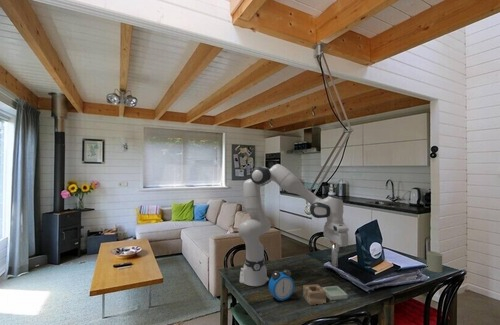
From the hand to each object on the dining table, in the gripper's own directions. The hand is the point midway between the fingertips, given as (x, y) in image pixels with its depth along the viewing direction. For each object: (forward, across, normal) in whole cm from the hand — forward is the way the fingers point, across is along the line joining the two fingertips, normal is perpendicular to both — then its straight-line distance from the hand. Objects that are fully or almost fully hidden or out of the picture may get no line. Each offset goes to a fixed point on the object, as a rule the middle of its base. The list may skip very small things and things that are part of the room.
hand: (334, 249), depth 141 cm
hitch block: (+26, +2, -14) cm, 29 cm away
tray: (+26, 0, 0) cm, 26 cm away
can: (+26, -18, +88) cm, 94 cm away
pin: (+9, 0, 0) cm, 9 cm away
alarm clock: (+26, -2, -30) cm, 40 cm away
